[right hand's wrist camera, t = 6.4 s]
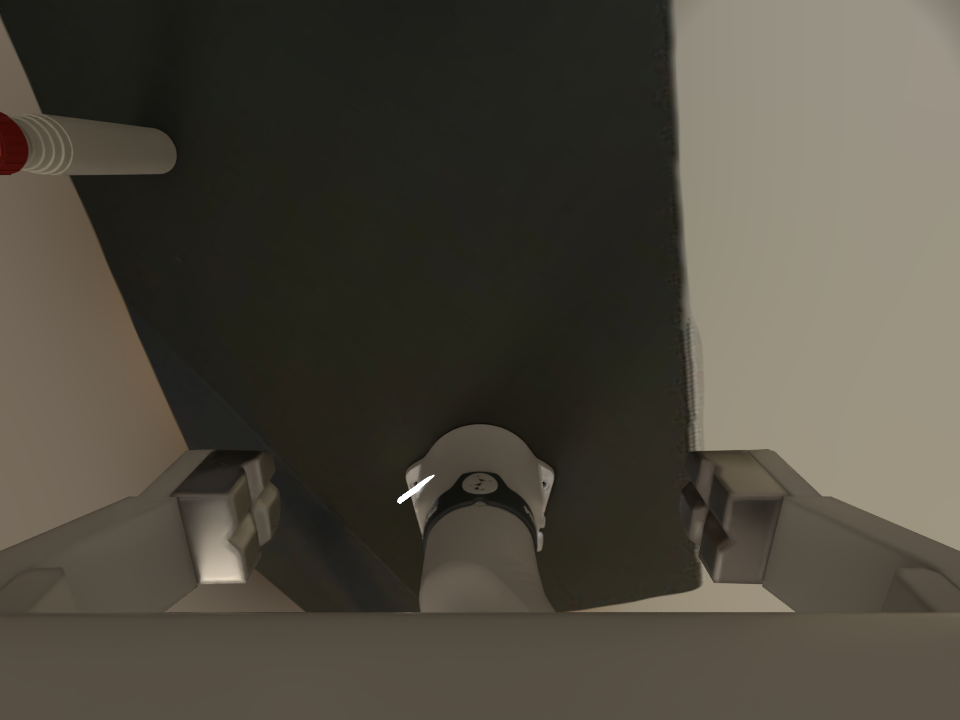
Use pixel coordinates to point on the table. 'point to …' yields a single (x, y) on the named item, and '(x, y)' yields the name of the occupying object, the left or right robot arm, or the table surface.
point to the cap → (11, 146)
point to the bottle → (93, 147)
